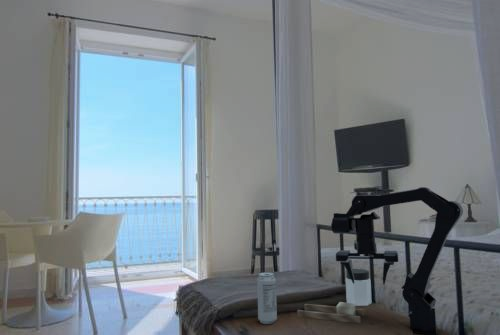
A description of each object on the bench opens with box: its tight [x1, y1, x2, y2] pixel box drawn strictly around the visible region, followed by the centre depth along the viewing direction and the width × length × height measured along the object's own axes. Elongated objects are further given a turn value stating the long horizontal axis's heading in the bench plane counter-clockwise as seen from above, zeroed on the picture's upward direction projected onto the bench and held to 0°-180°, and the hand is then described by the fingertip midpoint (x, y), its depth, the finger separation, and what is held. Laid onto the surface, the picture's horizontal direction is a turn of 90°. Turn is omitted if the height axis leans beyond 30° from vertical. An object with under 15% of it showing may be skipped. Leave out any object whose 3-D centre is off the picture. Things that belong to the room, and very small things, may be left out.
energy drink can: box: [256, 272, 278, 325], centre depth 124 cm, size 6×6×15 cm
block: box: [336, 301, 357, 316], centre depth 124 cm, size 5×5×4 cm
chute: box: [296, 303, 365, 324], centre depth 126 cm, size 20×9×2 cm, turn 65°
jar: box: [345, 268, 372, 307], centre depth 141 cm, size 9×8×12 cm
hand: (368, 283), depth 122 cm, fingers open, 9 cm apart
